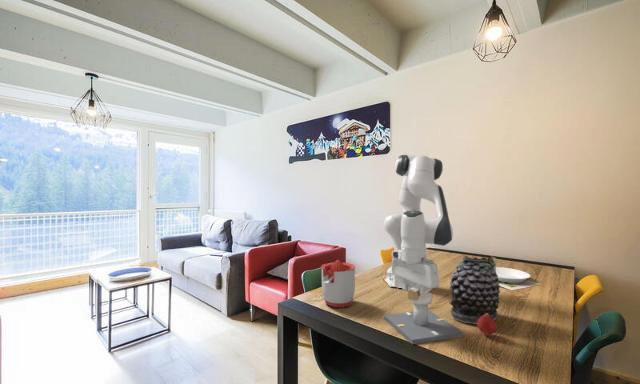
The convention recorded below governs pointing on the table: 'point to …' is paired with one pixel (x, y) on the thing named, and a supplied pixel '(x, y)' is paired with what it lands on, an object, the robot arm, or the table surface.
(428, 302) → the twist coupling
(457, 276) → the pineapple fairy house
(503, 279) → the white plate
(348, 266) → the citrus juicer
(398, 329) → the lock base
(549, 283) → the table surface
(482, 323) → the onion
